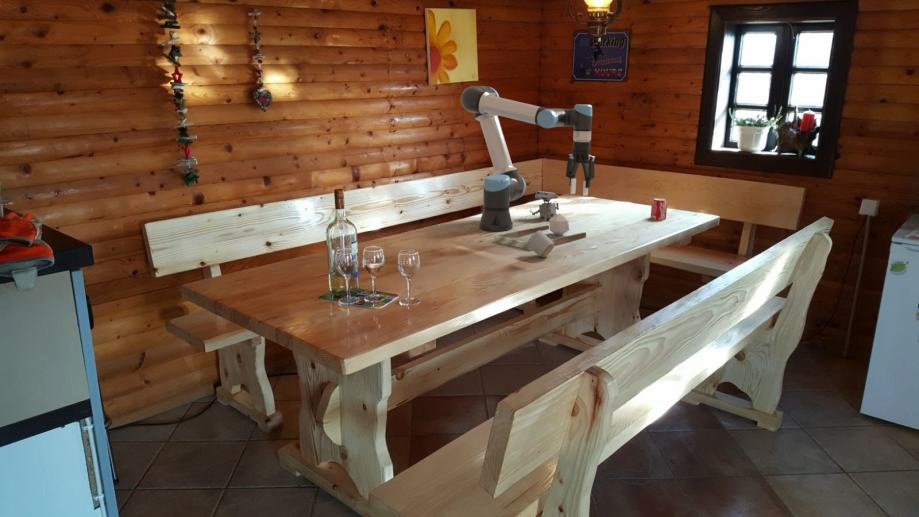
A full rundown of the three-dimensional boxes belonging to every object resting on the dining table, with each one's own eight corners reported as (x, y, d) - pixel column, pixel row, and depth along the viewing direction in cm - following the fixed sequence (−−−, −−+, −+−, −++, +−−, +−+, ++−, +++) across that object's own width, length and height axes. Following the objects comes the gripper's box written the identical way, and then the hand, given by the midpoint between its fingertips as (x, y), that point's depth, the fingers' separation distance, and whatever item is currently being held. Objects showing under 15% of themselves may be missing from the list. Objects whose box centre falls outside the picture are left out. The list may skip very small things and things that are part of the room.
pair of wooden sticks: (493, 241, 279) (494, 235, 278) (546, 230, 302) (547, 225, 301) (533, 250, 264) (533, 244, 263) (585, 238, 287) (586, 232, 286)
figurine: (541, 220, 327) (542, 189, 324) (560, 223, 319) (561, 191, 315) (529, 222, 321) (530, 191, 317) (548, 225, 313) (549, 193, 309)
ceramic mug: (540, 262, 252) (546, 249, 247) (524, 248, 255) (529, 235, 249) (557, 248, 258) (563, 235, 252) (541, 235, 261) (546, 222, 255)
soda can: (667, 223, 320) (669, 198, 317) (663, 226, 314) (665, 200, 311) (652, 222, 324) (654, 197, 321) (648, 224, 318) (650, 199, 315)
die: (568, 238, 286) (569, 215, 283) (547, 237, 288) (548, 214, 285) (569, 234, 294) (570, 212, 292) (549, 233, 296) (550, 211, 293)
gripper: (558, 140, 294) (556, 192, 300) (594, 142, 281) (591, 197, 286) (569, 139, 299) (567, 191, 305) (605, 142, 286) (602, 196, 291)
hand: (579, 194), depth 295 cm, fingers open, 6 cm apart
